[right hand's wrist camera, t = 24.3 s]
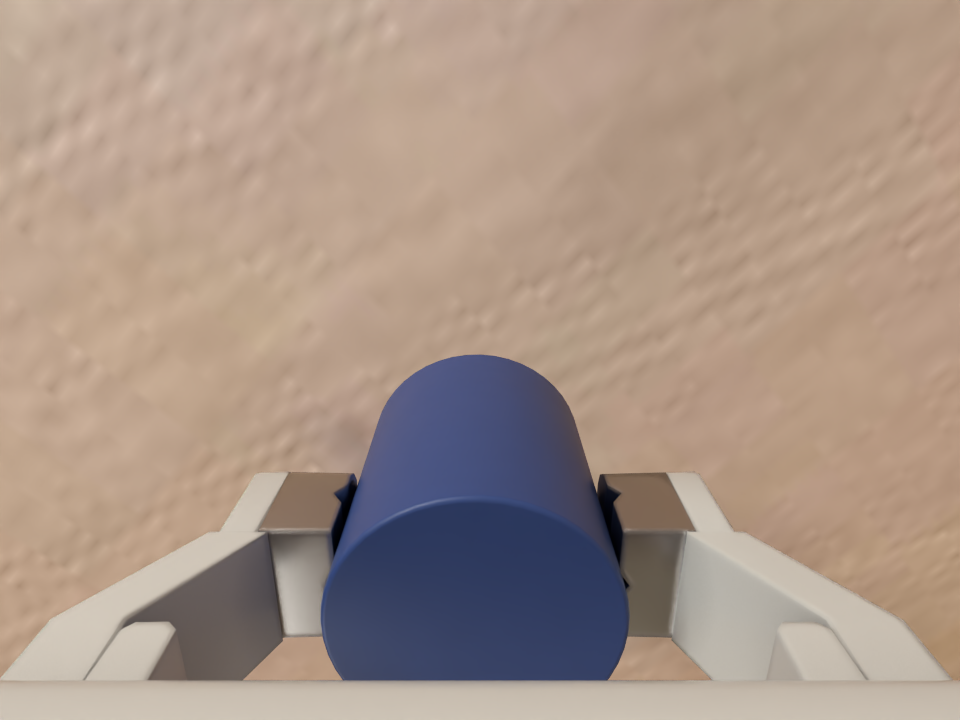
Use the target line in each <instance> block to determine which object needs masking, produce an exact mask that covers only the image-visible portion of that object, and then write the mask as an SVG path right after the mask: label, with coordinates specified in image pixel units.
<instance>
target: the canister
mask: <svg viewBox="0 0 960 720" xmlns="http://www.w3.org/2000/svg"><path fill="white" fill-rule="evenodd" d="M629 620H630V611H629V600H628V596H627V592H626V588H625V584H624V581H623V578H622V574H621V571H620V568H619V565H618V561H617V558H616V555H615V551H614V548H613V545H612V542H611V538H610V535H609V532H608V529H607V525H606V522H605V519H604V515H603V512H602V509H601V506H600V502H599V499H598V496H597V493H596V489H595V486H594V483H593V479H592V476H591V473H590V470H589V466H588V463H587V460H586V456H585V453H584V450H583V447H582V443H581V440H580V437H579V434H578V430H577V427H576V424H575V420H574V417H573V415H572V413H571V410H570V408H569V406H568V404H567V403H566V401H565V400H564V398H563V396H562V395H561V394H560V393H559V392H558V390H557V389H556V388H555V387H554V386H553V385H552V384H551V383H550V382H549V381H548V380H547V379H545V378H544V377H543V376H541V375H540V374H539V373H537V372H536V371H534V370H532V369H530V368H529V367H527V366H525V365H523V364H520V363H518V362H515V361H512V360H509V359H505V358H501V357H496V356H489V355H464V356H457V357H451V358H448V359H444V360H441V361H438V362H435V363H433V364H431V365H428V366H426V367H424V368H423V369H421V370H419V371H418V372H416V373H414V374H413V375H412V376H410V377H409V378H408V379H407V380H405V381H404V382H403V383H402V384H401V385H400V386H399V387H398V388H397V389H396V390H395V392H394V393H393V394H392V396H391V397H390V398H389V400H388V401H387V403H386V405H385V407H384V409H383V411H382V413H381V416H380V419H379V421H378V424H377V427H376V430H375V434H374V437H373V440H372V443H371V446H370V449H369V452H368V455H367V458H366V461H365V464H364V467H363V470H362V473H361V477H360V480H359V483H358V486H357V489H356V492H355V495H354V498H353V501H352V504H351V507H350V510H349V513H348V516H347V520H346V523H345V526H344V529H343V532H342V535H341V538H340V541H339V544H338V547H337V550H336V553H335V556H334V560H333V563H332V566H331V569H330V572H329V575H328V578H327V581H326V584H325V587H324V591H323V596H322V601H321V619H320V622H321V628H322V635H323V640H324V643H325V646H326V649H327V652H328V655H329V657H330V659H331V661H332V663H333V665H334V667H335V669H336V671H337V672H338V674H339V675H340V676H341V678H342V679H343V680H608V679H609V678H610V676H611V674H612V673H613V671H614V669H615V668H616V666H617V664H618V662H619V660H620V658H621V655H622V653H623V651H624V648H625V644H626V640H627V635H628V631H629Z"/></svg>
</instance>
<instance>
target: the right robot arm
mask: <svg viewBox="0 0 960 720" xmlns="http://www.w3.org/2000/svg"><path fill="white" fill-rule="evenodd" d="M356 489H357V479H356V477H355V475H354V473H308V472H292V473H290V472H260V473H257V474H255V476H254V477H253V478H252V480H251V482H250V483H249V485H248V486H247V488H246V490H245V491H244V493H243V494H242V496H241V498H240V499H239V501H238V503H237V504H236V506H235V507H234V509H233V511H232V512H231V514H230V515H229V517H228V519H227V520H226V522H225V523H224V525H223V527H222V528H221V530H220V531H219V532H208V533H206V534H205V535H203V536H201V537H199V538H197V539H195V540H194V541H192V542H190V543H188V544H186V545H185V546H183V547H181V548H179V549H177V550H175V551H174V552H172V553H170V554H168V555H166V556H165V557H163V558H161V559H159V560H157V561H155V562H154V563H152V564H150V565H148V566H146V567H144V568H143V569H141V570H139V571H137V572H135V573H134V574H132V575H130V576H128V577H126V578H124V579H123V580H121V581H119V582H117V583H115V584H114V585H112V586H110V587H108V588H106V589H104V590H103V591H101V592H99V593H97V594H95V595H94V596H92V597H90V598H88V599H86V600H84V601H83V602H81V603H79V604H77V605H75V606H74V607H72V608H70V609H68V610H66V611H64V612H63V613H61V614H59V615H57V616H55V617H53V618H52V619H50V620H49V622H48V623H47V624H46V625H45V626H44V627H43V629H42V630H41V631H40V632H39V633H38V635H37V636H36V637H35V638H34V639H33V640H32V642H31V643H30V644H29V645H28V646H27V647H26V649H25V650H24V651H23V652H22V653H21V655H20V656H19V657H18V658H17V659H16V660H15V662H14V663H13V664H12V665H11V666H10V667H9V669H8V670H7V671H6V672H5V673H4V675H3V676H2V677H1V678H0V720H960V680H953V679H952V678H951V677H950V676H949V674H948V673H947V672H946V671H945V670H944V668H943V667H942V666H941V665H940V664H939V662H938V661H937V660H936V659H935V658H934V656H933V655H932V654H931V653H930V652H929V650H928V649H927V648H926V647H925V645H924V644H923V643H922V642H921V641H920V639H919V638H918V637H917V636H916V635H915V633H914V632H913V631H912V630H911V629H910V627H909V626H908V625H907V624H906V623H905V621H904V620H902V619H901V618H899V617H897V616H895V615H893V614H892V613H890V612H888V611H886V610H884V609H883V608H881V607H879V606H877V605H875V604H874V603H872V602H870V601H868V600H866V599H865V598H863V597H861V596H859V595H857V594H856V593H854V592H852V591H850V590H848V589H847V588H845V587H843V586H841V585H839V584H838V583H836V582H834V581H832V580H830V579H829V578H827V577H825V576H823V575H821V574H820V573H818V572H816V571H814V570H812V569H811V568H809V567H807V566H805V565H804V564H802V563H800V562H798V561H796V560H795V559H793V558H791V557H789V556H787V555H786V554H784V553H782V552H780V551H778V550H777V549H775V548H773V547H771V546H769V545H768V544H766V543H764V542H762V541H760V540H759V539H757V538H755V537H753V536H751V535H750V534H748V533H746V532H735V531H734V529H733V528H732V526H731V525H730V523H729V521H728V520H727V518H726V516H725V515H724V513H723V512H722V510H721V508H720V507H719V505H718V504H717V502H716V500H715V499H714V497H713V495H712V494H711V492H710V491H709V489H708V487H707V486H706V484H705V483H704V481H703V479H702V478H701V476H700V474H698V473H696V472H669V473H628V474H601V475H600V477H599V482H598V490H597V496H598V499H599V502H600V506H601V509H602V512H603V515H604V519H605V522H606V525H607V529H608V532H609V535H610V538H611V542H612V545H613V548H614V551H615V555H616V558H617V561H618V565H619V568H620V571H621V574H622V578H623V581H624V584H625V588H626V592H627V596H628V600H629V611H630V620H629V631H628V635H627V636H634V637H670V638H672V641H673V642H674V643H675V644H676V645H677V646H678V647H679V648H680V649H681V650H682V651H683V652H684V653H685V654H686V655H687V656H688V657H689V658H690V659H691V660H692V661H693V662H694V663H695V664H696V665H697V666H698V667H699V668H700V669H701V670H702V671H703V672H704V673H705V674H706V675H707V676H708V677H709V678H710V679H711V680H243V679H244V678H245V677H246V676H247V675H248V674H249V673H250V672H251V671H252V670H253V669H254V668H255V667H256V666H257V665H258V664H259V663H261V662H262V661H263V660H264V659H265V658H266V657H267V656H268V655H269V654H270V653H271V652H272V651H273V650H274V649H275V648H276V647H277V646H278V645H279V644H280V643H281V642H282V641H283V639H282V638H284V637H319V636H323V635H322V628H321V622H320V619H321V601H322V596H323V591H324V587H325V584H326V581H327V578H328V575H329V572H330V569H331V566H332V563H333V560H334V556H335V553H336V550H337V547H338V544H339V541H340V538H341V535H342V532H343V529H344V526H345V523H346V520H347V516H348V513H349V510H350V507H351V504H352V501H353V498H354V495H355V492H356Z"/></svg>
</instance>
